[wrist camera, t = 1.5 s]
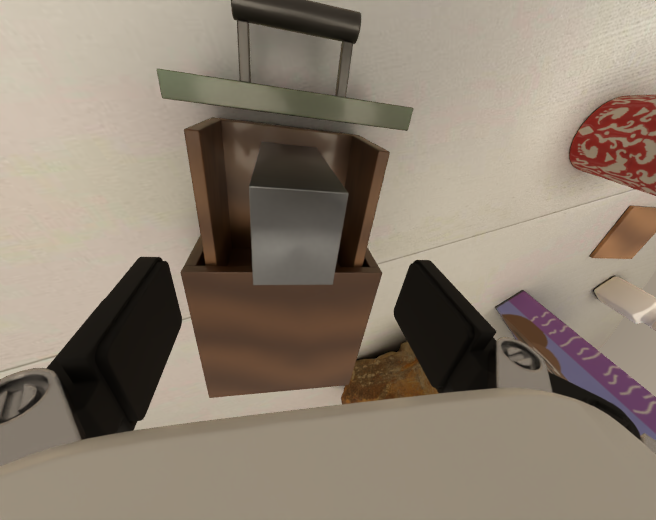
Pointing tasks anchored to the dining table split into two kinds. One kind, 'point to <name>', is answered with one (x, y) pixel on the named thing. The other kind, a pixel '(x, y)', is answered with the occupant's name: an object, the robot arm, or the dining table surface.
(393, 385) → the rough brown rock
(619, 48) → the dining table surface
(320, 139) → the drawer
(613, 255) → the plate
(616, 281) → the pepper shaker
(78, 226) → the dining table surface
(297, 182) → the metal block
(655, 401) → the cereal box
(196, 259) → the cabinet
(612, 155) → the mug
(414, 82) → the dining table surface
